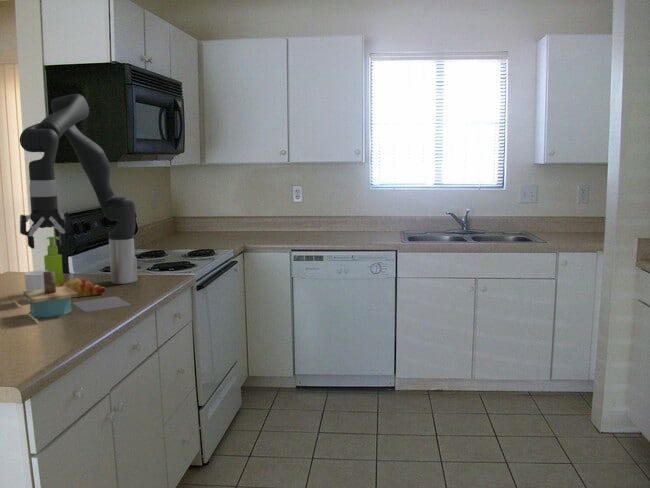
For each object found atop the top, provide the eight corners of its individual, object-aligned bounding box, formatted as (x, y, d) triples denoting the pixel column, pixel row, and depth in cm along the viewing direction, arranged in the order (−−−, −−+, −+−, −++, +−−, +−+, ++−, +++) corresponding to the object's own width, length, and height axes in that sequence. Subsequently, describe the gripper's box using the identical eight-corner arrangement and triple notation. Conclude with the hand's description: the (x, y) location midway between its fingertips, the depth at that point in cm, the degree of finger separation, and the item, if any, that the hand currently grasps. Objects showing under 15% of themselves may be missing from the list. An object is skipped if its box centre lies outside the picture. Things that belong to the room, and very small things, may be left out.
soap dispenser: (59, 292, 222) (56, 238, 219) (43, 291, 223) (39, 237, 220) (69, 289, 227) (66, 236, 224) (53, 288, 229) (49, 235, 226)
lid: (66, 288, 202) (64, 266, 200) (78, 296, 191) (76, 273, 190) (23, 294, 194) (21, 271, 192) (33, 302, 184) (31, 278, 182)
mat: (116, 297, 214) (116, 296, 214) (131, 306, 203) (131, 304, 203) (71, 304, 205) (71, 302, 205) (85, 314, 194) (85, 312, 193)
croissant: (43, 307, 215) (37, 290, 211) (53, 288, 223) (47, 271, 219) (103, 305, 216) (98, 288, 211) (111, 287, 224) (106, 270, 219)
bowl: (64, 307, 201) (63, 289, 200) (74, 314, 192) (73, 296, 192) (28, 313, 194) (27, 294, 193) (37, 320, 186) (35, 301, 185)
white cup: (31, 298, 213) (29, 270, 212) (55, 298, 214) (53, 270, 212) (22, 304, 205) (20, 275, 204) (46, 303, 206) (44, 274, 204)
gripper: (64, 193, 195) (67, 243, 197) (15, 195, 186) (19, 247, 189) (71, 194, 189) (74, 246, 191) (20, 196, 180) (25, 250, 183)
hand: (47, 246), depth 190 cm, fingers open, 8 cm apart
